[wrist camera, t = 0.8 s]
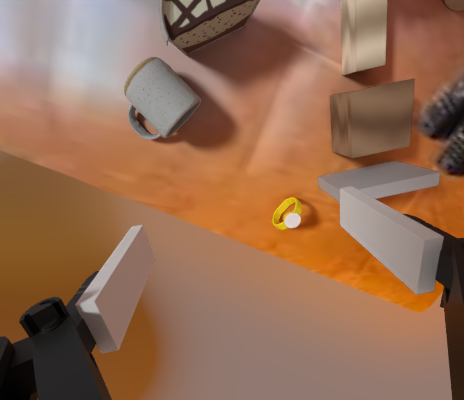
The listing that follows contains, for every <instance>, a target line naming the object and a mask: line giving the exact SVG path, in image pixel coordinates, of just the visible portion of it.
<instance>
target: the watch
mask: <svg viewBox="0 0 464 400" xmlns="http://www.w3.org/2000/svg"><path fill="white" fill-rule="evenodd" d="M293 203H295V208H294V210H293V211H290V212H288V213H286V214H285V216H284V218H283V222H282V223H280V224H279V219H280V216H281V214H282V213H283V212H284V211H285V210H286V209H287V208H288V207H289V206H290V205H291V204H293ZM301 212H302V203H301V202H300V201H299V200H298V199H296V198H295V197H290V198H288V199H286V200H284V202H283V203H282V204H281V205H280V206H279V207H278V208H277V210H276V211H275V212H274V214H273V217H272V223H273V224H274V226H276V227H277V228H278V229H283V230H284V229H286V228H295V227H297V226H298V225H299V223H300V221H301V218H300V214H301Z"/></svg>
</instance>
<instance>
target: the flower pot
mask: <svg viewBox="0 0 464 400" xmlns="http://www.w3.org/2000/svg"><path fill="white" fill-rule="evenodd" d="M444 2H445V4H446V5H447V6H448V7H449V8H450V9H452V10H455V11H460V10H464V0H444Z"/></svg>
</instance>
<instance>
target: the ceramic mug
mask: <svg viewBox="0 0 464 400" xmlns="http://www.w3.org/2000/svg"><path fill="white" fill-rule="evenodd" d="M124 92H125V95H126V97H127V98H128V100H129V101H130V103H131V105H130V106H129V109H128V119H129V122H130V124H131V126H132V128H133V129H134V130H135V132H136V133H137V134H138V135H140V136H141V137H143V138H145V139H150V140H152V139H157V138H159V137H161V136H163V137H164V138H168V137H170V136H171V135H172V134H173V133H175V132H176V131H177V130H178V129H179V128H180V127H181V126H182V125H183V124H184V123H185V122H186V121H187V120H188V119H189V118H190V117H191V116H192V114H193V113H194V112H195V111H196V110H197V108H198V107H199V106H200V104H201V98H200V97H199V96H198V95H197V94H196V93H195V92H194V91H193V90H192V89H191V88H190V87H189V86H188V85H187V84H186V83H185V82H184V81H183V80H182V79H181V78H180V77H179V76H178V75H177V74H176V73H175V72H174V71H173V70H172V68H171V67H170V66H169V65H168V64H166V63H165V62H164V61H162V60H161V59H159V58H157V57H151V58H148V59H146V60H144V61H143V62H141V63H140V64H139V65H138V66H137V67H136V68H135V69H134V70H133V71H132V73H131V74H130V75H129V77H128V79H127V81H126V83H125V86H124ZM136 109H137V110H138V111H139V112H140V113H141V114H142V115H143V116H144V117H145V118H146V119H147V120H148V122H149V123H150V124H151V125H152V126H153V127H154V128H155V129H156V130H157V131H158V132H159V133H160V134H157V135H152V134H150V133H148V132H147V131H146V130H145V129H144V128H143V127H142V126H141V125H140V124H139V121H137V120H136V116H135V110H136Z"/></svg>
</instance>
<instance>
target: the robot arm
mask: <svg viewBox="0 0 464 400" xmlns="http://www.w3.org/2000/svg"><path fill="white" fill-rule="evenodd" d="M340 226H341V227H343V228H344V229H345V230H346V231H347V232H348V233H349V234H350V235H351V236H352V237H354V238H355V239H356V240H357V241H358V242H359V243H360V244H361V245H362V246H364V247H365V248H366V249H367V250H368V251H369V252H370V253H371V254H372V255H373V256H375V257H376V258H377V259H378V260H379V261H380V262H381V263H382V264H383V265H384V266H386V267H387V268H388V269H389V270H390V271H391V272H392V273H393V274H394V275H395V276H397V277H398V278H399V279H400V280H401V281H402V282H403V283H404V284H405V285H406V286H408V287H409V288H410V289H411V290H412V291H413V292H414V293H415V294H416V295H417V294H423V293H428V292H433V291H434V288H435V282H436V280H437V281H438V282H440V283H441V284H442V285H444V289H443V295H442V299H441V304H440V307H443V308H444V312H445V323H446V333H447V345H448V356H449V367H450V379H451V389H452V400H464V238H458V239H457V238H456V237H454V236H452V235H450V234H448V233H446V232H444V231H442V230H440V229H438V228H436V227H433V225H431V224H429V223H426V222H425V221H423V220H421V219H419V218H417V217H415V216H411V215H408V214H401V213H400V212H398V211H396V210H394V209H392V208H390V207H389V206H387V205H385V204H383V203H381V202H379V201H378V200H376V199H374V198H372V197H370V196H368V195H367V194H365V193H363V192H361V191H359V190H358V189H356V188H354V187H352V186H350V187H344V188H340ZM154 261H155V258H154V255H153V252H152V249H151V246H150V243H149V240H148V237H147V234H146V232H145V229H144V226H143V225H138V226H133V227H131V228H130V230H129V231H128V232H127V234H126V235H125V237H124V238H123V239H122V241H121V242H120V243H119V245H118V246H117V248H116V249H115V251H114V252H113V253H112V255H111V256H110V257H109V259H108V260H107V261H106V263H105V264H104V266H103V267H102V268H101V270H100V271H96V272H95V273H93V274H92V275H91V276H90V277H88V279H87V280H86V281H85V282H84V283H83V285H82V286H81V288H79V290H78V291H77V294H75V295H74V297H73V298H72V299H71V300H70V302H69V303H68V304H67V305H66V307H65V305H64V304H63V302H62V300H61V299H60V298H59V297H52V298H48V299H45V300H43V301H41V302H39V303H37V304H35V305H34V306H32V307H31V308H30V309H28V310H27V311H26V312H25V313H24V314H23V315H22V316H21V318H20V324H21V325H22V327H23V328H24V330H25V331H26V333H27V334H28V336H29V337H28V338H25V339H23V340H20V341H18V342H15V343H13V344H11V342H10V341H9V339H8V338H6V337H0V400H37V399H38V400H112V399H111V396H110V394H109V392H108V389H107V387H106V385H105V382H104V380H103V378H102V375H101V373H100V371H99V368H98V366H97V364H96V362H95V359H94V357H93V355H92V353H91V352H92V350H93V348H94V347H95V344H96V345H97V347H98V349H99V350H100V352H101V353H106V352H111V351H116V350H119V348H120V345H121V342H122V340H123V337H124V335H125V333H126V330H127V328H128V325H129V323H130V320H131V318H132V315H133V313H134V311H135V308H136V306H137V303H138V301H139V298H140V296H141V293H142V290H143V288H144V285H145V283H146V281H147V278H148V276H149V273H150V271H151V268H152V266H153V263H154Z"/></svg>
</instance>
